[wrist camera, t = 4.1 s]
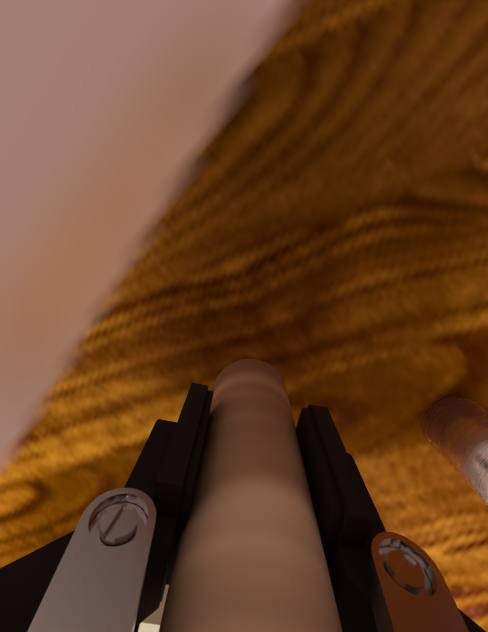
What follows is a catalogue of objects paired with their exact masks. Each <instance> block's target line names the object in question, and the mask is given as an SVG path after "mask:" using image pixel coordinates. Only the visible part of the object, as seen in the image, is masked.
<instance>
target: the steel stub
mask: <svg viewBox="0 0 488 632" xmlns="http://www.w3.org/2000/svg"><path fill="white" fill-rule="evenodd" d="M422 427H423V432H424V434H425V436H426V438H427V439H428V440H429V441H430V442H431V443H432V444H433V446H434V447H435V448H436V449H437V450H438V451H439V452H440V453H441V454H442V455H443V457H444V458H445V459H446V460H447V461H448V462H449V463H450V464H451V465H452V466H453V468H454V469H455V470H456V471H457V472H458V473H459V474H460V475H461V476H462V478H463V479H464V480H465V481H466V482H467V483H468V484H469V485H470V486H471V487H472V489H473V490H474V491H475V492H476V493H477V494H478V495H479V496H480V497H481V498H482V500H483V501H484V502H485V503H486V504H487V505H488V411H487V410H485V409H484V408H482V407H481V406H480V405H478V404H477V403H475V402H474V401H473V400H471V399H469V398H467V397H463V396H450V397H446V398H443V399H441V400H439V401H437V402H436V403H435V404H433V405H432V406H431V407H430V408H429V409H428V411H427V412H426V414H425V416H424V419H423V423H422Z"/></svg>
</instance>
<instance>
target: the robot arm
mask: <svg viewBox="0 0 488 632" xmlns="http://www.w3.org/2000/svg"><path fill="white" fill-rule="evenodd" d="M213 394H214V391H209V390H208V386H207V385H202V384H196V383H192V384H191V387H190V390H189V392H188V395H187V398H186V400H185V403H184V406H183V409H182V411H181V414H180V417H179V419H178V422H172V421H166V420H161V419H158V420H157V421H156V423H155V425H154V427H153V429H152V431H151V434H150V436H149V438H148V440H147V442H146V444H145V446H144V448H143V450H142V452H141V454H140V456H139V459H138V461H137V463H136V465H135V467H134V469H133V471H132V473H131V475H130V477H129V479H128V481H127V483H126V486H125V488H118V489H115V490H111V491H108V492H106V493H104V494H102V495H101V496H99V497H97V498H96V499H95V500H94V501H93V502H92V503H91V504H89V506H88V507H87V509H86V510H85V512H84V513H83V515H82V517H81V519H80V521H79V523H78V525H77V527H76V529H75V530H74V531H72V532H70V533H69V534H67V535H65V536H63V537H61V538H59V539H57V540H55V541H53V542H51V543H49V544H47V545H45V546H43V547H41V548H39V549H37V550H35V551H34V552H32V553H30V554H28V555H26V556H24V557H22V558H20V559H18V560H16V561H14V562H12V563H10V564H8V565H6V566H4V567H2V568H0V632H139V628H140V623H141V622H143V621H144V620H145V619H146V618H147V617H149V616H150V615H151V614H152V613H153V612H155V611H156V610H157V609H158V608H159V605H160V602H162V599H163V595H164V591H165V587H166V585H169V583H170V579H171V574H172V570H173V565H174V561H175V556H176V552H177V548H178V543H179V539H180V536H181V534H182V532H183V530H184V528H185V527H186V523H187V518H188V513H189V509H190V504H191V499H192V494H193V490H194V485H195V480H196V476H197V471H198V466H199V462H200V457H201V452H202V447H203V443H204V438H205V433H206V429H207V424H208V419H209V415H210V409H211V404H212V399H213ZM296 433H297V437H298V442H299V446H300V450H301V455H302V459H303V463H304V468H305V472H306V476H307V481H308V485H309V489H310V493H311V498H312V502H313V506H314V511H315V515H316V519H317V524H318V528H319V532H320V537H321V541H322V545H323V550H324V554H325V558H326V563H327V567H328V571H329V575H330V580H331V584H332V588H333V593H334V597H335V601H336V606H337V610H338V614H339V619H340V623H341V627H342V632H486V631H484V630H483V629H482V628H481V627H480V626H478V625H477V624H476V623H475V622H474V621H472V620H471V619H470V618H469V617H468V616H467V615H465V614H464V613H463V612H462V611H461V610H459V609H458V608H457V605H456V603H455V601H454V599H453V597H452V595H451V593H450V591H449V589H448V587H447V585H446V583H445V581H444V578H443V576H442V574H441V573H440V571H439V569H438V568H437V566H436V564H435V563H434V562H433V560H432V559H431V558H430V557H429V556H428V555H427V553H426V552H425V551H424V550H422V549H421V548H420V547H419V546H418V545H417V544H415V543H414V542H412V541H411V540H409V539H408V538H406V537H404V536H402V535H399V534H396V533H393V532H386V530H385V528H384V526H383V523H382V521H381V519H380V517H379V514H378V512H377V510H376V508H375V506H374V503H373V501H372V499H371V497H370V495H369V492H368V490H367V488H366V486H365V483H364V481H363V479H362V477H361V475H360V472H359V470H358V468H357V466H356V464H355V461H354V459H353V457H352V456H351V455H350V454H349V453H347V452H346V450H345V447H344V445H343V443H342V440H341V438H340V436H339V434H338V431H337V429H336V427H335V424H334V422H333V420H332V417H331V415H330V413H329V411H328V409H327V408H326V407H321V406H315V405H309V406H308V408H303V409H302V411H301V414H300V417H299V421H298V424H297V427H296Z"/></svg>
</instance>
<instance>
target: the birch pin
mask: <svg viewBox="0 0 488 632" xmlns="http://www.w3.org/2000/svg"><path fill="white" fill-rule="evenodd" d="M213 391H214V394H213V399H212V404H211V409H210V415H209V419H208V424H207V429H206V433H205V438H204V443H203V447H202V452H201V457H200V462H199V466H198V471H197V476H196V480H195V485H194V490H193V494H192V499H191V504H190V509H189V513H188V518H187V523H186V527H185V528H184V530H183V532H182V534H181V536H180V539H179V543H178V548H177V552H176V556H175V561H174V565H173V570H172V574H171V579H170V583H169V588H168V592H167V597H166V601H165V605H164V610H163V614H162V619H161V623H160V628H159V632H342V627H341V623H340V619H339V614H338V610H337V606H336V601H335V597H334V593H333V588H332V584H331V580H330V575H329V571H328V567H327V563H326V558H325V554H324V550H323V545H322V541H321V537H320V532H319V528H318V524H317V519H316V515H315V511H314V506H313V502H312V498H311V493H310V489H309V485H308V481H307V476H306V472H305V468H304V463H303V459H302V455H301V450H300V446H299V442H298V437H297V433H296V429H295V424H294V420H293V416H292V411H291V407H290V403H289V399H288V394H287V390H286V386H285V382H284V379H283V377H282V376H281V374H280V373H279V371H278V370H277V369H276V368H275V367H273V366H272V365H270V364H268V363H267V362H264V361H261V360H257V359H242V360H238V361H235V362H233V363H231V364H229V365H227V366H226V367H225V368H224V369H223V370H222V371H221V372H220V373H219V374H218V376H217V378H216V380H215V383H214V387H213Z"/></svg>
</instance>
